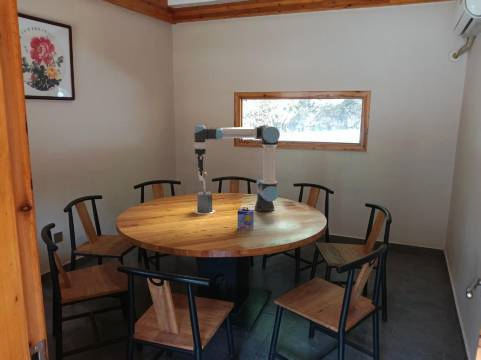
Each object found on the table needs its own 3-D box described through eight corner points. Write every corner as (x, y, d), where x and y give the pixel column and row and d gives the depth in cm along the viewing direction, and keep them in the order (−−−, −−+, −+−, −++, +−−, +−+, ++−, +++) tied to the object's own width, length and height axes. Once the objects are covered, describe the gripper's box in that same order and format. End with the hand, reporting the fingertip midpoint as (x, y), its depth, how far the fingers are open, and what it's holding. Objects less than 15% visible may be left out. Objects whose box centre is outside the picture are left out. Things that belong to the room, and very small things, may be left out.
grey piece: (211, 208, 285) (211, 190, 283) (212, 213, 271) (212, 194, 269) (196, 208, 283) (196, 190, 281) (197, 213, 270) (197, 194, 267)
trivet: (214, 209, 285) (214, 208, 285) (216, 214, 270) (216, 213, 270) (193, 210, 283) (193, 209, 283) (194, 215, 267) (194, 214, 267)
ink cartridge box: (237, 229, 237) (237, 207, 234) (238, 226, 242) (238, 205, 239) (252, 230, 235) (252, 208, 232) (253, 227, 240) (253, 206, 237)
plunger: (209, 196, 279) (209, 171, 275) (210, 198, 271) (209, 173, 267) (198, 196, 277) (198, 171, 274) (199, 198, 270) (198, 173, 266)
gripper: (194, 146, 266) (194, 175, 270) (195, 150, 242) (196, 182, 246) (204, 146, 267) (204, 175, 271) (206, 150, 243) (207, 181, 247)
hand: (200, 178), depth 259 cm, fingers open, 13 cm apart
